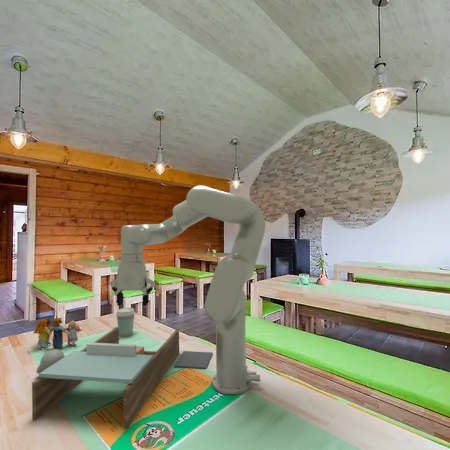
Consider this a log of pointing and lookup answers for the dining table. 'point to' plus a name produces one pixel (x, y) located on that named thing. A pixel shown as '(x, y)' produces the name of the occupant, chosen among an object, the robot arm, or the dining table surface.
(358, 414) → the dining table surface
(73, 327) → the doll family
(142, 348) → the terracotta block
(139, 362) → the sliding cover
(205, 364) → the rubber mat
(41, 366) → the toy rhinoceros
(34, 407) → the wooden shelf frame
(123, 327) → the coffee cup
